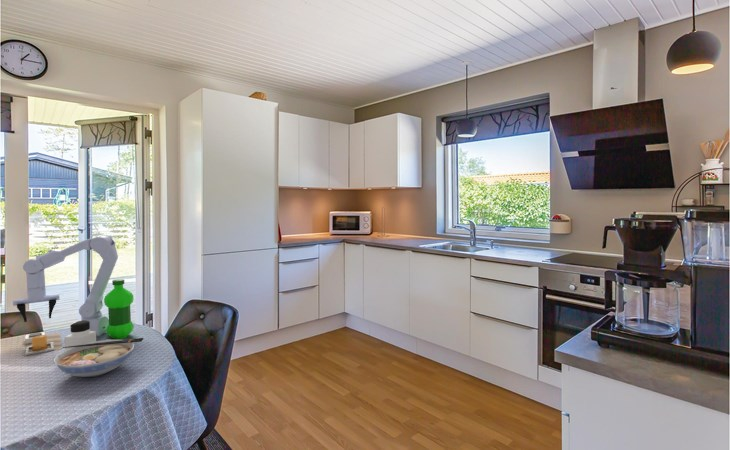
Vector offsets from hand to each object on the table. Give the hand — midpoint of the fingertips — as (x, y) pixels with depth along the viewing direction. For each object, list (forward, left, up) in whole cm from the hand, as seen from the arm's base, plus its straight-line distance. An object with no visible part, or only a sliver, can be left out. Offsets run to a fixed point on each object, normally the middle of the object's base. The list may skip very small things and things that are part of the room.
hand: (38, 319), depth 158 cm
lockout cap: (-12, +11, -8) cm, 18 cm away
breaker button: (-1, +2, -8) cm, 8 cm away
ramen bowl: (-46, +24, -10) cm, 53 cm away
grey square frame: (-12, +11, -8) cm, 18 cm away
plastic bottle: (-30, -8, -10) cm, 32 cm away
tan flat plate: (-8, +6, -9) cm, 13 cm away
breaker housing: (-1, +2, -8) cm, 8 cm away
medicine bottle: (-26, +8, -10) cm, 29 cm away
